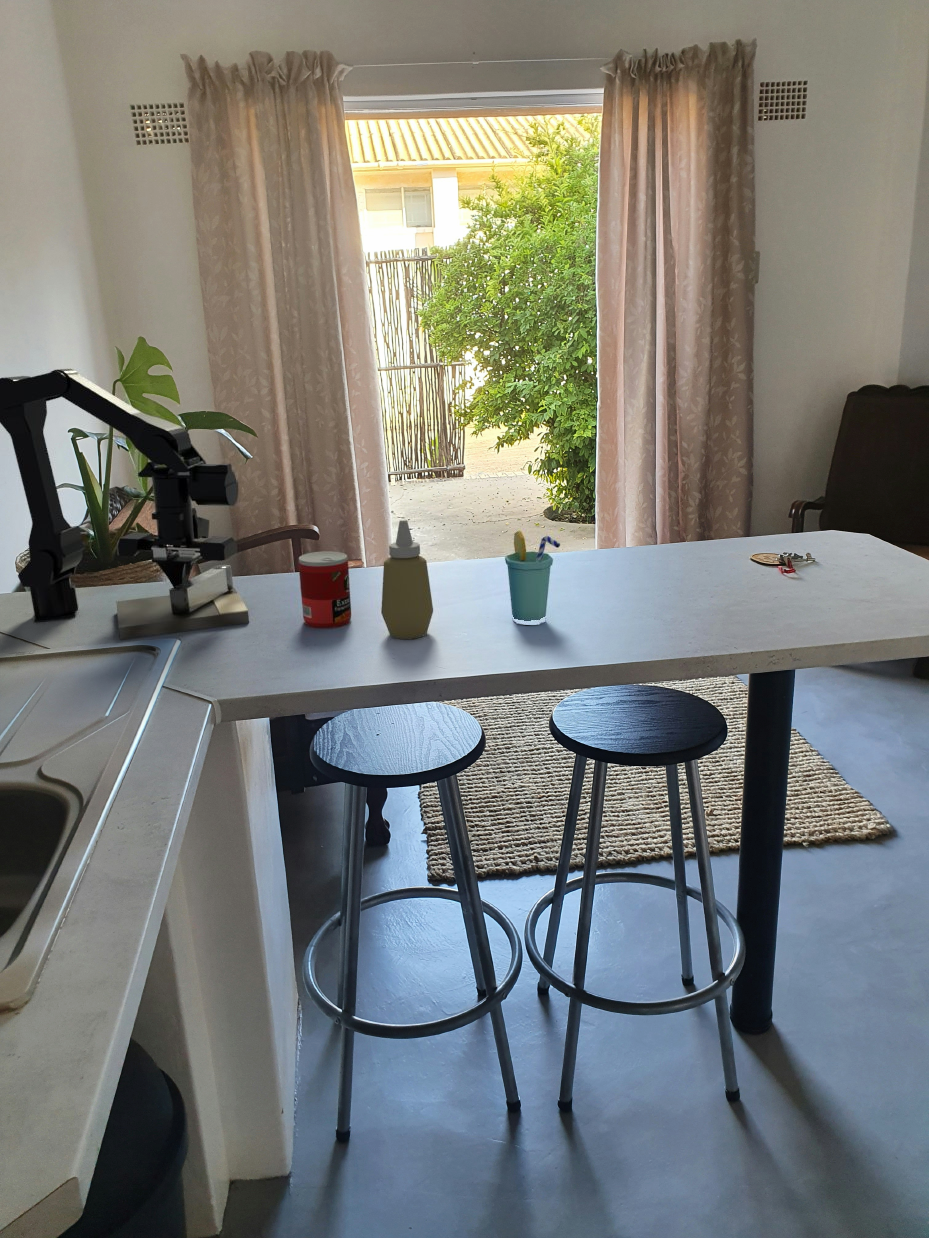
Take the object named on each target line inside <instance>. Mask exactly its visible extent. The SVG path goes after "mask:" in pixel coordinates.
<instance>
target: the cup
mask: <svg viewBox="0 0 929 1238" xmlns="http://www.w3.org/2000/svg"><path fill="white" fill-rule="evenodd" d="M513 536H514V537H513V547H514V552H513V553H511V554H508V555H505V556H504V561H505V564H506V565H507V572H508V573H507V575H508V576H507V577H508V582H509V583H508V585H509V594H510V603H511V604H510V606H511V607H510V608H511V615H513V617H514V619H518V620H524V621H531V620H540V619H541V618H543V617H545V616H546V615H547V605H548V596H549V586H550V585H549V584H550V577H551V576H550V575H551V566H553V561H554V557H553V558H552V556H551V555H550V554H549V553H545V548H546V545H547V543H548V544H549V545H550V546H551V545H552V546H553V547H555V548H557V549H559V548H560V546H561V543H560V542H558V541H557V540H555V539H553V538H552V537H550V536H549V535H545V536H544V537H542V538H541V540H540V543H539V548H538V552H537V551H527V546H526V540H525V537H524V534H523V532H522V531H521V530H518V531H515V532H514V535H513Z"/></svg>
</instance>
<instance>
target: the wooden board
mask: <svg viewBox="0 0 929 1238" xmlns="http://www.w3.org/2000/svg"><path fill="white" fill-rule="evenodd" d="M115 602H116V614H117V625H118V632H119V640H121V641H122V640H128V639H135V638H143V637H151V636H159V635H166V634H173V633H174V634H175V633H183V632H190V631H197V630H204V629H211V628H212V629H213V628H218V627H219V628H220V627H226V626H227V627H229V626H235V625H243V624H249V623H250V617H249V609H248V608H247V605H245V603H244V601H243V599H242V597H241V595H240V594H239V593H238V591H237V590H236V588H235V587H233V589H232V590H229V591H227V592H225V593H223V594H221V595H219V596H218V597H216V598H214V599H212V600H211V601H209V602H207V603H205V604H204V605H202V606H200V607H198V608H197V609H195V610H193V611H191V612H190V613H189V614H186V615H179V616H177V615H172V609H171V601H170V594H169V595H167V594H166V595H159V596H151V597H150V596H149V597H143V598H133V599H127V600H118V601H115Z"/></svg>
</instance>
